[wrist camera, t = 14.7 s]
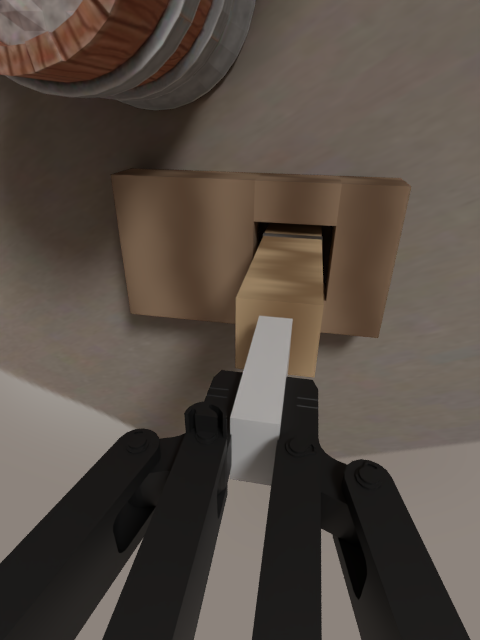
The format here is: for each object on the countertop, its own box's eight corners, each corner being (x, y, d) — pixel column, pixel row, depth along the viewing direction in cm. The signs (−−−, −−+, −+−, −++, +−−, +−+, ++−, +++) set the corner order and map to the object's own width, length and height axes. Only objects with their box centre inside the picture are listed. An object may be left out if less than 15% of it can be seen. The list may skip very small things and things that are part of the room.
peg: (266, 270, 32) (234, 368, 19) (268, 221, 30) (234, 296, 17) (316, 274, 31) (315, 378, 19) (322, 224, 29) (325, 304, 17)
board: (147, 296, 35) (130, 313, 32) (131, 168, 29) (110, 174, 26) (372, 316, 32) (378, 338, 29) (400, 178, 26) (411, 186, 23)
